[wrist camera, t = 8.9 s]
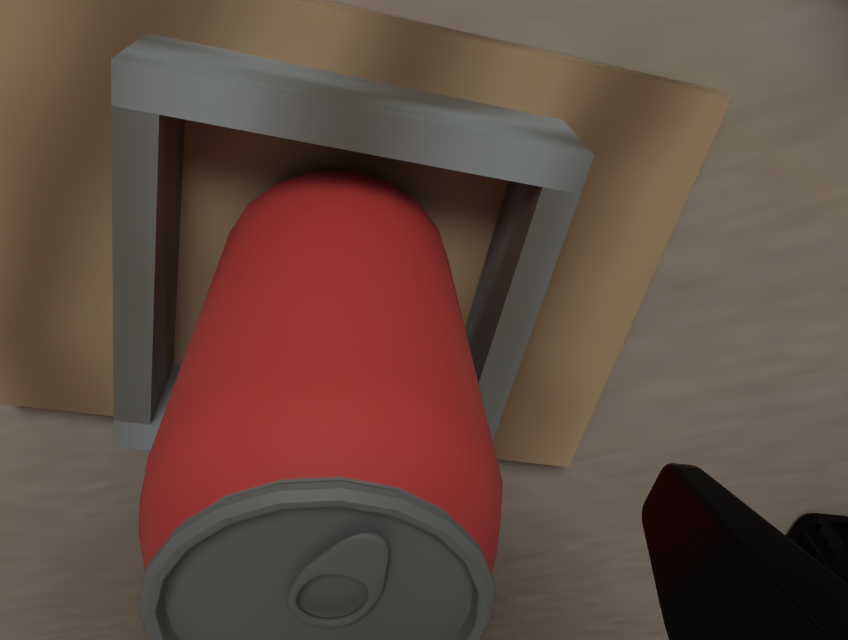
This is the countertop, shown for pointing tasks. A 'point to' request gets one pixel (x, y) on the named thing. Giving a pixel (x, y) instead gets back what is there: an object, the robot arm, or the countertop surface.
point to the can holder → (324, 151)
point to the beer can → (324, 435)
